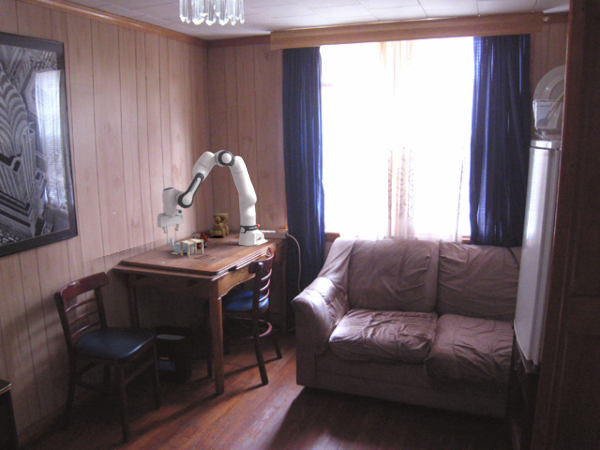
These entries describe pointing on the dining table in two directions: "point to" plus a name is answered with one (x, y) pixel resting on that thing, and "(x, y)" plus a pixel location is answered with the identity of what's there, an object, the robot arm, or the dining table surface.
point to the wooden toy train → (220, 225)
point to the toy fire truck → (199, 236)
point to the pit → (203, 256)
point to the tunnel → (188, 242)
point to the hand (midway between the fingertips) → (171, 231)
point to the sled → (177, 246)
